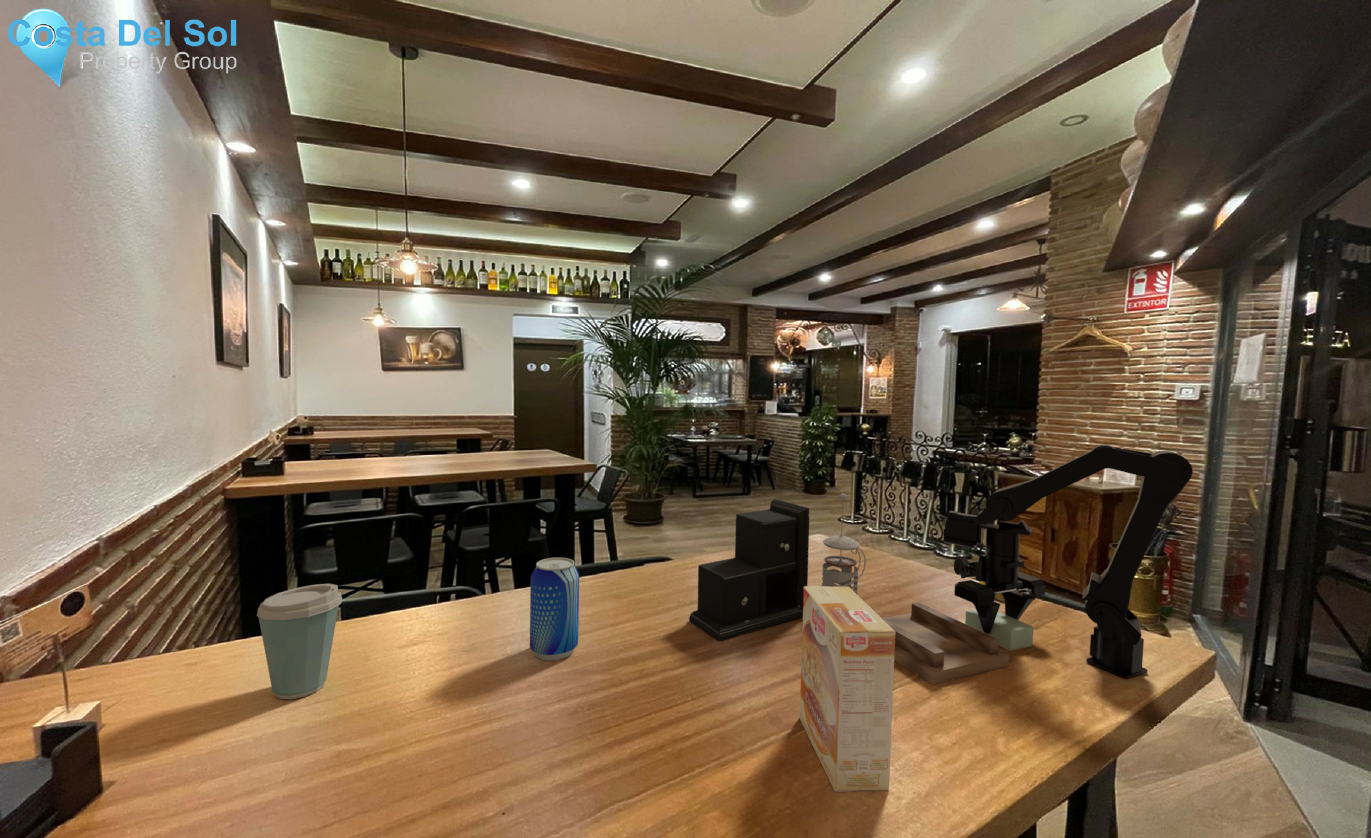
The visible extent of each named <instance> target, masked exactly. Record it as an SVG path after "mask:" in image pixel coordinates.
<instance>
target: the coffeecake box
mask: <svg viewBox="0 0 1371 838" xmlns="http://www.w3.org/2000/svg"><path fill="white" fill-rule="evenodd" d="M881 617H882V616H880V615H879V614H878V613H877V612H876V611H875V610H873V609H872V607H870V605H868V604H867V602H865V601H864V600H863V599H862V598H861V597H860V596H859V595H858V593H857V594H856V593H855V592H854V591H853V589H851V588H850V587H830V586H822V585H807V586H804V598H803V617H802V630H801V631H802V635H801V664H800V665H801V669H800V691H799V692H800V695H799V697H800V698H799V715H798V717H799V720H800V723H801V724H802V726H803V728H804V731H805V733H806V735H807V737H808V739H809V742H810V743H811V745H812V747H813V749H814V751H815V754H816V755H817V758H818V760H819V762H820V763H821V765H822V768H823V769H824V772H825V774H826V776H827V779H828V781H829V782H830V784H831V786H832V788H833V790H834V792H837V793H838V792H840V793H841V792H842V793H844V792H845V793H846V792H856V791H857V792H858V791H889V790H890V778H891V777H890V773H891V750H892V749H891V747H892V722H893V721H892V720H893V701H894V699H893V698H894V680H895V679H894V677H895V676H894V675H895V674H894V671H895V661H894V652H895V633H896V632H895V631H894V630H893V629H892V628H891V627H890V626H889V625H888V624H887V623H886V622H885V621H884V620H883V619H882V618H883V617H882V618H881Z"/></svg>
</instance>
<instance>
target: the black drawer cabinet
mask: <svg viewBox="0 0 1371 838" xmlns="http://www.w3.org/2000/svg"><path fill="white" fill-rule="evenodd" d="M769 506H770V507H769V509H763V510H756V511H747V512H740V513H736V515H735V542H734V549H735V550H734V557H732V558H727V559H722V560H717V561H716V560H715V561H710V562H707V563H701V564H698V567H697V571H698V572H697V574H698V575H697V609H696V610H693V611H692V612H690V615H689V616H688V621H689V622H690V623H691V624H693V625H695V626H696V627H698V628H699V629H700V630H702V631H703V632H705V633H706V634H707V635H709V636H711V637H712V638H713V639H715V640H716V641H718V642H721V641H725V640H728V639H731V638H735V637H738V636H741V635H745V634H748V633H752V632H755V631H759V630H762V629H765V628H769V627H773V626H776V625H779V624H782V623H786V622H789V621H792V620H796V619H800V618H803V598H804V586H808V583H809V582H808V581H809V550H810V549H809V543H810V507H807V506H803V505H801V504H800V505H799V504H796V503H791V502H789V501H784V500H781V499H777V498H775V499H773V500H772V501H770V504H769Z"/></svg>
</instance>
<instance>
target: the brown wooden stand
mask: <svg viewBox="0 0 1371 838" xmlns="http://www.w3.org/2000/svg"><path fill="white" fill-rule="evenodd" d="M880 617H881V618H882V619H883V620H884V621H885V622H886V623H887V624H888V625H889V626H890V627H891V628H892V629H893V630H894V631H895V632H896V633H895V652H894V662H896V663H897V662H898V664H899V665H900V666H902V667H903V668H905V669H907V670H909V671H910V672H912V673H913V674H915V675H916V676H918V677H919V678H921V679H923V680H924V681H926V682H928V683H929V684H930V685H936V684H941V683H946V682H949V681H953V680H958V679H961V678H966V677H969V676H973V675H977V674H982V673H986V672H989V671H994V670H998V669H1003V668H1005V667H1009V665H1010V654H1009V653H1006V652H1004V651H1002V650H1000V649H999V646H1000V645H999V640H998V639H996V638H994V637H992V636H990V635H987V634H985V633H983V632H981V631H979V630H977V629H975V628H973V627H970V626H968V625H966V624H965V623H964V622H962V621H960V620H957V619H955V618H953V617H951V616H949V615H946V614H945V613H942V612H940V611H939V610H936V609H935V608H932V607H930V606H928V605H926V604H924V603H922V602H913V603H911V612H910V613H909V612H907V613H904V614H898V615H891V616H887V617H882V616H880Z"/></svg>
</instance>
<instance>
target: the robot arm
mask: <svg viewBox="0 0 1371 838" xmlns="http://www.w3.org/2000/svg"><path fill="white" fill-rule="evenodd" d="M1106 469H1110V470H1115V471H1119V472H1123V473H1126V474H1131V475H1134V476H1135V475H1136V476H1140V477H1141V478H1140V485H1139V491H1138V498H1137V500H1136V502H1135V505H1134V507H1133V509H1132V511H1131V513H1130V515H1129V518H1128V521H1127V522H1126V525H1125V528H1124V529H1123V532H1122V534H1121V536H1120V539H1119V541H1118V542H1117V543H1118V544H1117V545H1116V548H1115V550H1114V552H1113V555H1112V557H1111V558H1110V562H1109V563H1108V565H1107V567H1106V569H1104V571H1103V572H1102V573H1101V574H1100V575H1099V574H1098V573H1096V572H1094V571H1091V574H1090V578H1089V583H1088V585H1086V587H1084V588H1083V590H1082V598H1081V600H1082V601H1083V602H1085V603H1084V612H1085V613H1086V615H1087V617H1088V618H1089V619H1090V620H1091V621H1092V622H1093V623H1095V625H1097V626H1093V633H1091V634H1090V643H1089V657H1087V658H1086V659H1085V661H1086V662H1087V663H1089V664H1091V665H1094V666H1096V667H1098V668H1100V669H1103V670H1105V671H1107V672H1108V673H1109V672H1110V673H1112V674H1113V675H1116V676H1118V677H1120V678H1123V679H1130V678H1133V677H1137V676H1140V675H1144V674H1147V673H1148V668H1145V667H1143V662H1144V661H1143V657H1144V644H1145V643H1144V642H1145V639H1144V638H1142V631H1141V630H1142V628H1141V623H1140V622H1141V621H1140V619H1139V617H1138V616H1136V614H1135V613H1134V612H1133V611H1132V610H1130V608H1129V606H1130V600H1131V595H1132V594H1131V593H1132V587H1133V581H1134V579H1135V576H1136V574H1137V572H1138V570H1139V569H1140V565H1141V564H1142V562H1143V559H1144V557H1145V555H1146V553H1147V551H1148V548H1149V546H1150V543H1151V542H1152V539H1153V537H1154V536H1155V533H1156V530H1157V529H1158V526H1159V524H1160V522H1161V520H1162V518H1163V515H1164V513H1165V511H1166V509H1167V508H1169V506H1170V504H1172V503H1173V501H1174V500H1175V499H1176V498H1177V497H1178V496H1179V495H1180V494H1181V492H1182V491H1183V490H1184V488H1185V487H1186V486H1187V484H1188V483H1189V482H1190V480H1191V478H1192V477H1193V474H1194V473H1193V472H1194V470H1193V467H1192V465H1191V463H1190V462H1189V460H1188V459H1186V458H1185V457H1184V456H1182V455H1181V454H1180V453H1177V452H1175V451H1171V450H1159V451H1156V452H1153V453H1152V452H1151V453H1150V452H1145V451H1140V450H1135V449H1134V450H1133V449H1127V448H1120V447H1116V446H1112V445H1109V444H1099V445H1096V446H1095V447H1093V449H1091V450H1089V451H1088V452H1085V453H1084V454H1083V453H1082V455H1079V456H1078V457H1075V458H1073V459H1071V460H1068V461H1067V462H1065V463H1063V464H1060V465H1059V466H1057V467H1055V468H1053V469H1051V470H1049V471H1047V472H1045V473H1042V474H1041V475H1039V476H1037V477H1035V478H1032V479H1030V480H1027V481H1026V480H1025V481H1023V482H1019V483H1014V484H1011V485H1009V486H1005V487H1002V488H998V489H997V490H995V491H994V492H993V493H992V494H990V495H989V496H988V497H987V498H986V501H985V508H984V510H980V511H978V513H977V514H971V513H970V514H969V513H963V512H959V511H956V510H950V511H948V512H947V514H946V515H947V516H946V520H945V526H944V528H943V533H942V534H943V542H944V544H949V545H953V546H954V545H955V546H959V547H964V548H970V549H976V548H977V546H978V544H979V545H983V543H984V537H985V551H984V554H980V555H979V556H978V560H971V561H969V559H967V558H966V557H963V558H962V557H960V558H954V561H953V571H954V573H955V574H956V575H959V576H960V579H966V578H975V580H972V579H970V580H969V579H968V580H963V581H958V582H956V583H955V584H954V591H953V593H954V594H953V595H954V596H956V597H958V598H960V599H963V600H965V601H968V602H970V603H972V604H973V606H974V609H976V611H977V613H978V616H979V619H980V622H981V626H982V629H983V631H984V632H985V633H987V634H990V632H991V630H992V627H993V624H994V621H995V619H996V616H997V613H998V612H999V610H1000V607H1001V603H998V602H995V600H996V599H995V595H996V594H998V593H1002V595H1003V597H1004V599H1005V602H1004V614H1005V615H1007V616H1009V617H1012V618H1014V619H1016V620H1019V621H1020V619H1021V617H1022V615H1023V614H1024V613H1025V611H1026V610H1027V609H1028V608H1029V606H1030V605H1031V604H1032V603H1033V601H1035V600H1036V599H1037V598H1036V597H1037V596H1038V597H1039V596H1043V595H1046V588H1047V587H1046V584H1045V582H1044V581H1043V580H1042V579H1041V578H1038V577H1035V576H1033V575H1029V574H1026V573H1023V572H1019V568H1020V567H1021V568H1022V567H1024V566H1025V560H1021V559H1020V541H1021V540H1020V539H1021V535H1023V536H1030V535H1031V534H1032V532H1033V529H1032V528H1031V527H1030V526H1029V525H1028V524H1027V523H1026V522H1025V520H1024V519H1021V520H1020V521H1019V522H1017V523H1016V522H1009V521H1012V520H1014V519H1016V518H1017V517H1018V516H1020V515H1021V514H1023V513H1024V512H1026V511H1027V510H1028V509H1029V508H1031V507H1033V505H1035V504H1036V503H1037V502H1039V501H1040V500H1042V499H1043V498H1045V497H1048V496H1049V495H1052V494H1054V493H1056V492H1059V491H1060V490H1062V489H1064V488H1067V487H1069V486H1071V485H1073V484H1076V483H1077V482H1079V481H1082V480H1084V479H1086V478H1088V477H1091V476H1093V475H1095V474H1097V473H1099V472H1102V471H1103V470H1106ZM996 521H1000V522H999V524H993V522H996ZM985 530H986V533H985ZM977 581H978V582H977ZM982 581H983V582H985V584H986V585H983V584H980V583H979V582H982ZM1029 590H1030V591H1029ZM1030 592H1031V594H1032V595H1031V594H1030Z"/></svg>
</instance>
